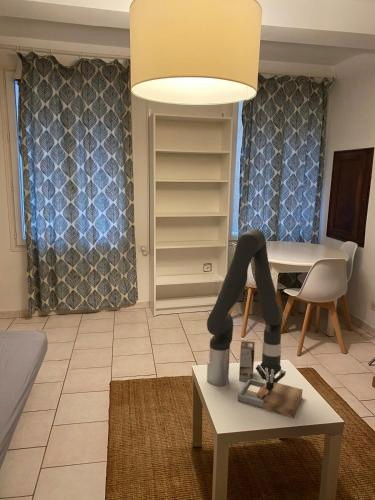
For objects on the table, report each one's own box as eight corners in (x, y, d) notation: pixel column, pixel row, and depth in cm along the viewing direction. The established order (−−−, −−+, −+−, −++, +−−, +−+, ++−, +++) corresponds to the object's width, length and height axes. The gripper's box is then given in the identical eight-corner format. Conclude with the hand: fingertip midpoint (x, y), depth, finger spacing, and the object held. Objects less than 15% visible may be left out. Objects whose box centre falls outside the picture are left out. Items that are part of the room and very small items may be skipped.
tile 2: (260, 398, 164) (257, 395, 165) (263, 393, 168) (260, 389, 169) (267, 391, 162) (263, 388, 163) (269, 386, 166) (266, 383, 167)
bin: (237, 401, 163) (237, 394, 163) (249, 384, 176) (249, 378, 176) (262, 408, 158) (263, 402, 158) (272, 391, 171) (273, 384, 171)
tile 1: (257, 392, 165) (257, 396, 165) (260, 387, 169) (260, 391, 169) (247, 389, 167) (247, 394, 167) (250, 384, 171) (250, 389, 171)
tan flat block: (262, 408, 158) (263, 400, 158) (273, 389, 172) (273, 381, 171) (293, 418, 153) (294, 409, 152) (301, 397, 167) (302, 389, 166)
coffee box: (252, 382, 178) (254, 350, 175) (238, 380, 179) (240, 348, 176) (253, 372, 187) (255, 341, 184) (239, 370, 188) (241, 340, 185)
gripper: (253, 352, 161) (252, 389, 164) (285, 358, 155) (283, 397, 158) (258, 345, 167) (257, 381, 170) (289, 351, 161) (287, 389, 165)
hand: (269, 389), depth 164 cm, fingers closed
